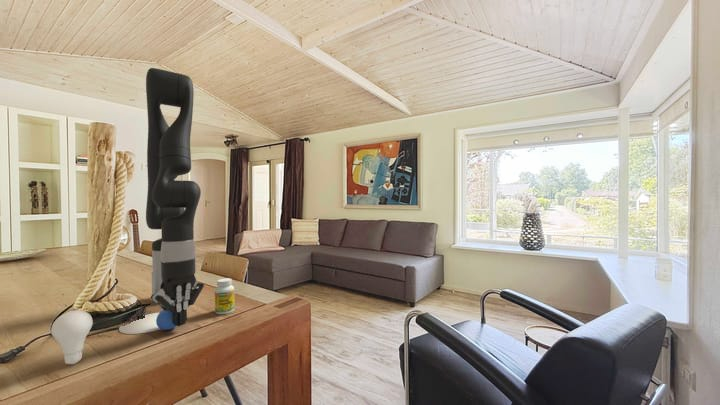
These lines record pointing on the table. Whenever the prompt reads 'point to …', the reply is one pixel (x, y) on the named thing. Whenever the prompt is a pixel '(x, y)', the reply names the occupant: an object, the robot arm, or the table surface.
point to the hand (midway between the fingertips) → (179, 324)
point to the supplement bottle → (224, 296)
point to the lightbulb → (72, 333)
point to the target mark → (141, 325)
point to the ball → (165, 320)
